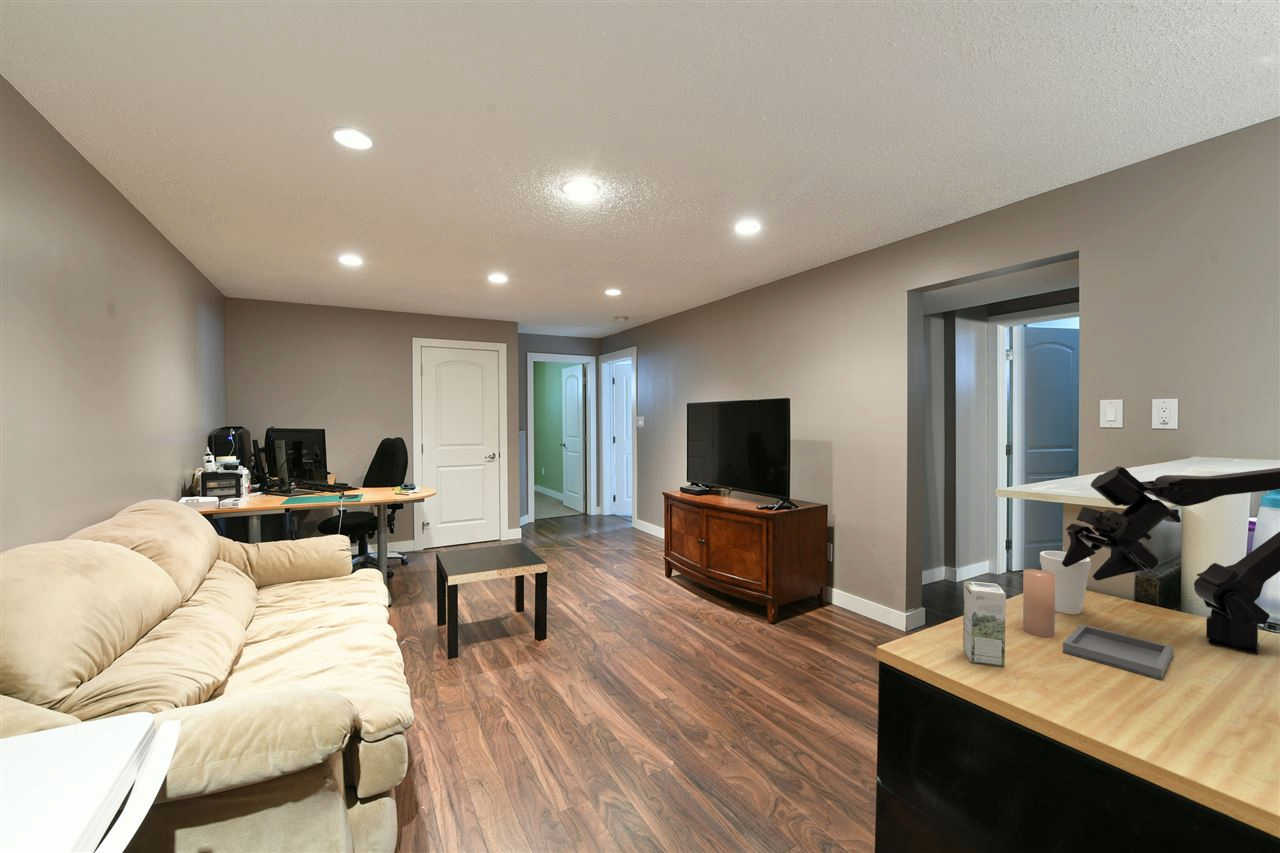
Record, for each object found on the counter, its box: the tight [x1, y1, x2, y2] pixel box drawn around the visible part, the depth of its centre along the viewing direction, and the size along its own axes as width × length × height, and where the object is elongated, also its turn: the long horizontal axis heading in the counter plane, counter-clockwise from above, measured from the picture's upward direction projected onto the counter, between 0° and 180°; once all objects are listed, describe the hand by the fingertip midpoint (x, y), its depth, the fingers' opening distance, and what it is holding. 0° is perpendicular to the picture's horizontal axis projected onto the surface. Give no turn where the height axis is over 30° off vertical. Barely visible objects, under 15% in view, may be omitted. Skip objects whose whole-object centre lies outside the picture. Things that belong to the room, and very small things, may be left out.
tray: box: [1062, 623, 1174, 681], centre depth 103 cm, size 14×14×2 cm
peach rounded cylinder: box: [1022, 568, 1056, 638], centre depth 113 cm, size 6×6×13 cm
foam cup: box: [1039, 550, 1092, 615], centre depth 126 cm, size 10×9×13 cm
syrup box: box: [962, 580, 1007, 667], centre depth 101 cm, size 6×6×14 cm
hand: (1078, 571), depth 112 cm, fingers open, 9 cm apart
